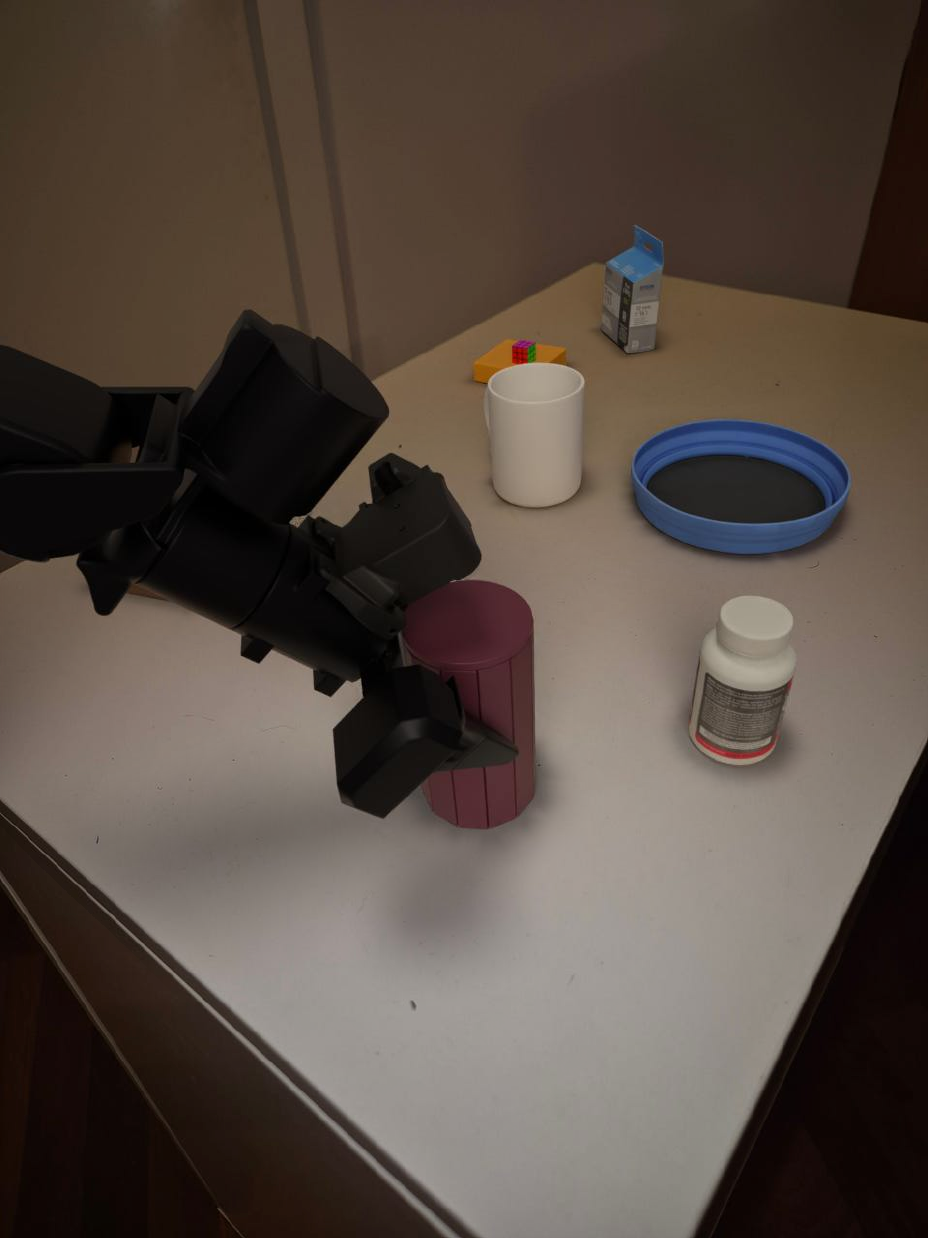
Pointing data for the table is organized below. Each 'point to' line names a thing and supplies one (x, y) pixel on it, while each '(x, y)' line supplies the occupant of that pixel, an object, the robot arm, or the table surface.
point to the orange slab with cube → (516, 357)
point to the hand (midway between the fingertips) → (497, 701)
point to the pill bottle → (743, 681)
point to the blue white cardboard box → (633, 294)
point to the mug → (535, 433)
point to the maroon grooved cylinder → (480, 691)
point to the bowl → (739, 485)
